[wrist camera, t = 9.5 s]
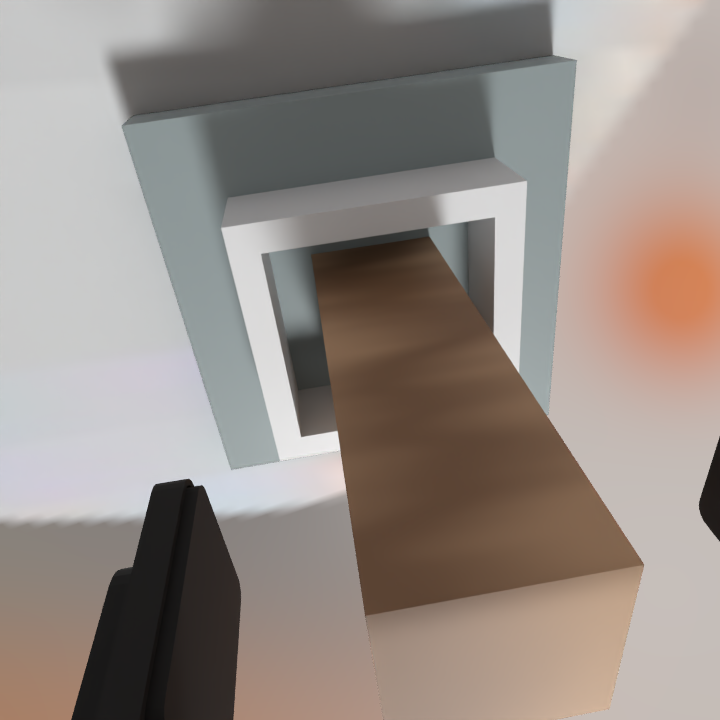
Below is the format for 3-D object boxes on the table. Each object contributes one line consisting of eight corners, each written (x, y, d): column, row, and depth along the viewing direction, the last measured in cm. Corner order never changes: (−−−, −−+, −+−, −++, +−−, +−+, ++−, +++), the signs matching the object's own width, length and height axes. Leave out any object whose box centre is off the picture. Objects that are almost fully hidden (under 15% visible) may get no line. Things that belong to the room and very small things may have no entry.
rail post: (429, 236, 17) (643, 565, 7) (434, 338, 19) (608, 709, 9) (311, 254, 17) (365, 616, 7) (327, 355, 19) (388, 751, 9)
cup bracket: (553, 55, 17) (624, 70, 13) (533, 392, 23) (577, 459, 20) (133, 115, 16) (96, 147, 13) (233, 443, 23) (226, 521, 19)
